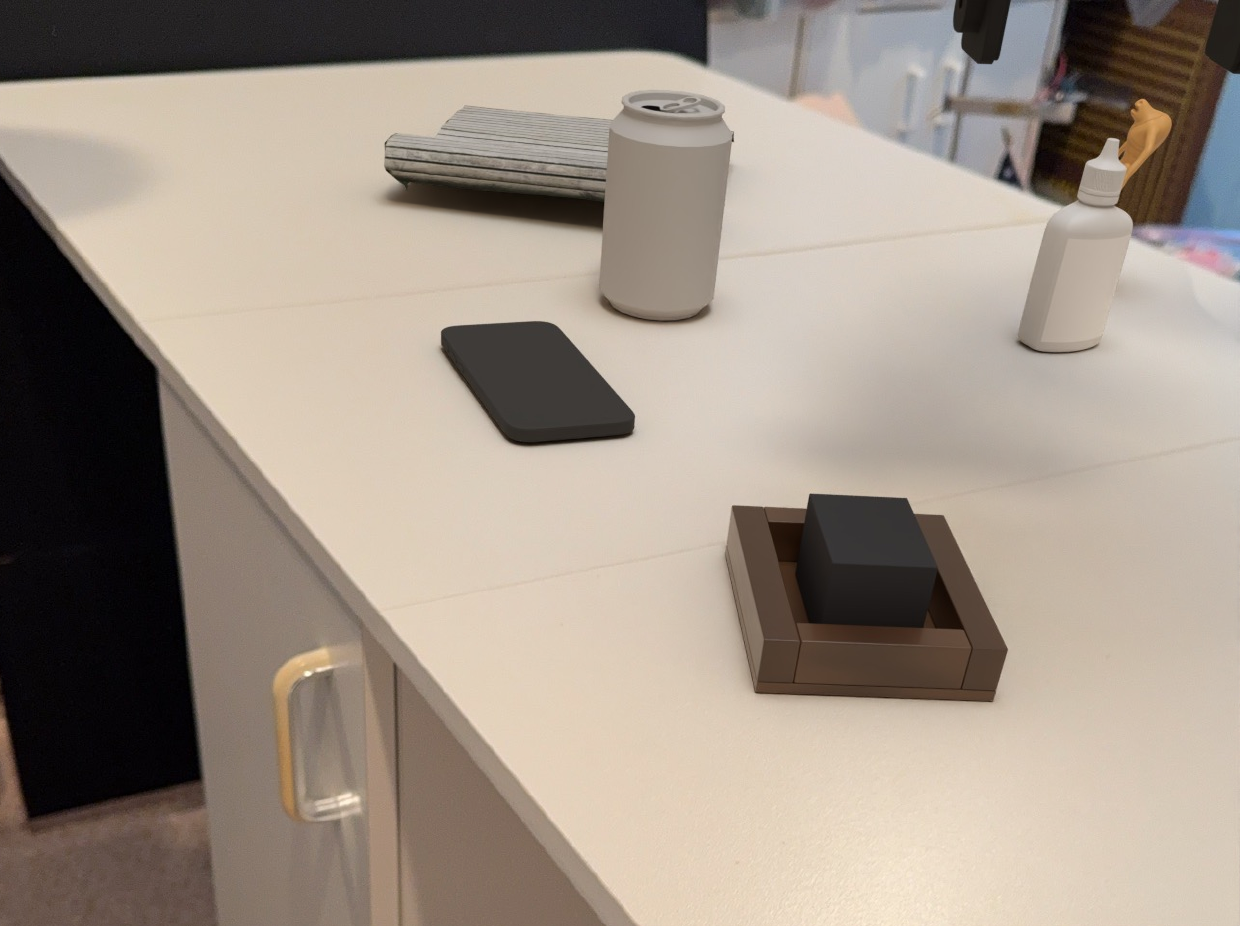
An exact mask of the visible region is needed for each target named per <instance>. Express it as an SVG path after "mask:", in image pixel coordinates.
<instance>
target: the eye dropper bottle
mask: <svg viewBox="0 0 1240 926" xmlns="http://www.w3.org/2000/svg"><path fill="white" fill-rule="evenodd" d="M1120 141H1121V140H1120V139H1119V138H1114V137H1108V138H1107V139H1106V141H1105V144H1104V146H1103V147H1102V150H1101V152H1100V154H1099V155H1098V156H1097V157H1095V158H1092V159H1089V160H1087V161H1086V162H1085V164H1084V169H1083V172H1082V176H1081V180H1080V184H1079V188H1078V192H1077V195H1076V198H1077V200H1075V201H1074V202H1072V203H1069V204H1067V205H1065V206H1064V207H1062V208H1060V209H1059V210H1057V211H1056V212H1054V213H1053V214H1052V215H1051V216H1050V218H1049V219H1048V221H1047V223H1046V225H1045V228H1044V230H1043V235H1042V239H1041V241H1040V245H1039V249H1038V252H1037V257H1036V260H1035V263H1034V264H1035V265H1034V268H1033V271H1032V275H1031V280H1030V284H1029V288H1028V291H1027V295H1026V300H1025V304H1024V307H1023V311H1022V315H1021V320H1020V323H1019V327H1018V332H1017V340H1019V341H1020V342H1021V343H1023V344H1024V345H1026V346H1028V347H1029V348H1031V349H1032V350H1035V351H1037V352H1043V353H1044V352H1045V353H1069V352H1070V353H1071V352H1079V351H1083V350H1087V349H1090V348H1094V347H1095V346H1096V345H1098V344H1099V343H1100V342H1101V340H1102V337H1103V335H1104V331H1105V328H1106V323H1107V320H1108V317H1109V314H1110V311H1111V307H1112V304H1113V300H1114V297H1115V294H1116V291H1117V287H1118V283H1119V281H1120V280H1119V279H1120V277H1121V273H1122V270H1123V266H1124V264H1125V263H1124V262H1125V259H1126V256H1127V252H1128V249H1129V245H1130V241H1131V237H1132V234H1133V229H1134V221H1133V219H1132V217H1131V216H1130V214H1128V213H1127V212H1126V211H1125V210H1123V209H1122V208H1119V207H1118V206H1116V204H1118V202H1119V198H1120V195H1121V191H1122V190H1121V188H1122V185H1123V181H1124V178H1125V174H1126V171H1127V168H1126V166H1125V165H1123V164H1122V163H1121V162H1120V159H1119V157H1118V151H1119V148H1120ZM1122 189H1123V188H1122Z"/></svg>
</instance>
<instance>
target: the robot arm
mask: <svg viewBox="0 0 1240 926" xmlns="http://www.w3.org/2000/svg"><path fill="white" fill-rule="evenodd" d="M1011 2H1012V0H955V2H954V9H953V16H952V27H953V30H954V31H955V32H956V33H957V34H961V39H960V46H961V50H962V51H963V52H964V53H965V54H966V55H967V56H969V58H970V59H971V60H973V61H974V63H976V64H977V65H992V64H994V62H996V61H999V59H1000V57H1001V52H1002V47H1003V42H1004V37H1005V32H1006V28H1007V22H1008V17H1009V12H1010V7H1011ZM1206 39H1207V40H1206V42H1205V48H1204V55H1205V56H1206V57H1207V58H1208V59H1209V60H1210V61H1211V62H1214V63H1215V64H1217V65H1218V66H1220V67H1221V68H1223V69H1225V70H1226V71H1228V72H1230V73H1231V74H1232V75H1240V0H1218V2H1217V4H1216V7H1215V12H1214V15H1213V18H1212V23H1211V26H1210V28H1209V33H1208V37H1207V38H1206Z"/></svg>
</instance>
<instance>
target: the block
mask: <svg viewBox="0 0 1240 926" xmlns="http://www.w3.org/2000/svg"><path fill="white" fill-rule="evenodd" d="M806 505H807V506H806V509H807V510H806V516H805V521H804V527H803V533H802V539H801V544H800V550H799V556H798V562H797V567H796V573H795V575H796V578H797V582H798V585H799V589H800V592H801V596H802V599H803V603H804V606H805V609H806V613H807V616H808V620H809V623H811V624H836V625H860V626H885V627H910V628H923V627H924V623H925V619H926V615H927V611H928V607H929V603H930V599H931V595H932V590H933V586H934V582H935V578H936V574H937V570H938V566H937V564H936V562H935V560H934V557H933V555H932V553H931V551H930V548H929V546H928V544H927V542H926V539H925V537H924V535H923V533H922V530H921V528H920V526H919V524H918V522H917V519H916V517H915V515H914V514H915V513H914V510H913V508H912V506H911V504H910V501H909V499H908V498H907V497H895V496H894V497H893V496H873V495H851V494H850V495H849V494H831V493H829V494H828V493H812V492H811V493H809V494H808V499H807V503H806Z"/></svg>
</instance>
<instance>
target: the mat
mask: <svg viewBox="0 0 1240 926" xmlns="http://www.w3.org/2000/svg"><path fill="white" fill-rule="evenodd" d="M612 120H613V119H606V118H594V117H587V116H586V117H585V116H575V115H572V116H571V115H563V114H554V113H553V114H552V113H544V112H534V111H526V110H525V111H523V110H513V109H502V108H492V107H483V106H474V105H464V106H463V107H462V108H460V109H458V110H457V111H456V112H455V113H454V114H453V115H452V116H451V117H450V118H448V119H447V120H446V121H445V122H444V123H443V124H442V125H441V127H440V128H439V130H438V132H437V133H436V136H428V135H418V134H411V133H398V132H395V133H393V134H391V135H390V136H389V137H388V138H387V139H386V141H385V142H384V162H383V166H384V169H385V172H387V174H389V175H390V176H391V177H392V178H394V179H395V180H396V181H397V182H398V183H400V184H402V185H403V186H404V188H405V190H406V191H408V189H409V186H410V184H411V183H412V184H421V185H429V186H437V187H446V188H453V189H463V190H471V191H483V192H496V193H508V194H509V193H510V194H523V195H537V196H548V197H560V198H571V199H580V200H587V201H593V202H601V203H605V188H606V173H607V157H608V142H609V127H610V123H611V121H612ZM730 131H731V132H732V143H735V139H734V136H735V130H734V131H733V130H730Z"/></svg>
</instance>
